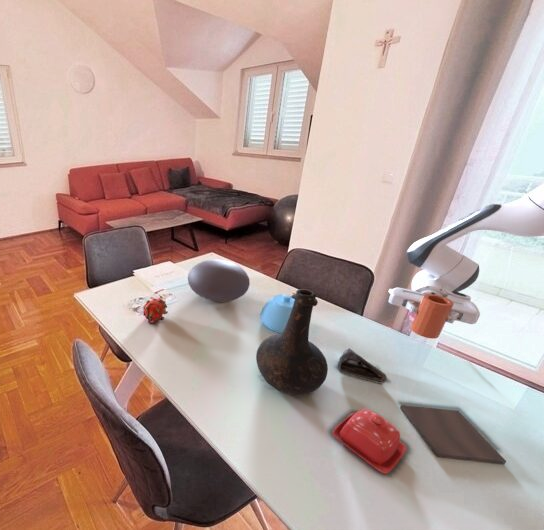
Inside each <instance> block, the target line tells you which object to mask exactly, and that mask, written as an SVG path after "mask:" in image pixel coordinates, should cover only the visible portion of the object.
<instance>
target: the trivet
mask: <svg viewBox="0 0 544 530" xmlns="http://www.w3.org/2000/svg"><path fill="white" fill-rule="evenodd" d="M399 408H400V410H401V411H402V413H403V414H404V415H405V417H406V418H407V419H408V420H409V422H410V423H411V425H412V426H413V427H414V428H415V430H416V432H418V434H419V435H420V437H421V438H422V439H423V441H424V442H425V444H427V446H428V447H429V448H430V450H431V451H432V452H433V454H434V455H435V456H436V457H437V458H444V459H445V458H446V459H453V460H464V461H472V462H480V463H490V464H497V465H505V464H506V463H507V460H506V459H505V458H504V457H503V456H502V455H501V453H499V451H497V450H496V449H495V447H494V446H493V445H492V444H490V441H488V440H487V439H486V438H485V437H484V436H483V434H482V433H480V432H479V430H478V429H477V428H476V427H474V425H473V424H472V423H471V422H470V421H469V420H468V419H467V418H466V417H465V416H464V415H463V414H462V413H461V412H460V410H458V409H457V410H456V409H448V408H438V407H437V408H436V407H425V406H416V405H406V404H401V405H400V407H399Z"/></svg>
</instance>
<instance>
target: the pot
mask: <svg viewBox="0 0 544 530" xmlns="http://www.w3.org/2000/svg"><path fill="white" fill-rule="evenodd" d="M453 305H454V303H453V302H452V301H451V300H449V299H447V298H445V297H442V296H439V295H434V294H425V295H424V296H423V298H422V300H421V303H420V305H419V308H418V309H419V310H418V312H417V314H414V318H413V320H412V322H411V326H410V330H411V331H412V333H414V334H416V335H418V336H420V337H423V338H426V339H438V338H439V337H440V335H441V334H442V331H443V329H444V326H445V324H446V323H447V322H446V320H447V318H448V316H449V314H450V311H451V309H452V307H453Z"/></svg>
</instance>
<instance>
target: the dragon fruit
mask: <svg viewBox="0 0 544 530" xmlns="http://www.w3.org/2000/svg"><path fill="white" fill-rule="evenodd" d="M167 308H168V306H167V304H166V301H165V300H164V299H162V298H161V297H158V298H155V297H153V298H152V299H151V300H150V299H149V300H146V303H145V304H144V306H143V307H142V309H143V310H142V311H143V316H144V318H145V319H146V320H147V323H149V324H150V323H156V321H157V320H158V321H163V320H164V319H165V317H164V316H163V315H167V314H168V313H169V311H167Z"/></svg>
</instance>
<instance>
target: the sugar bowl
mask: <svg viewBox="0 0 544 530" xmlns="http://www.w3.org/2000/svg"><path fill="white" fill-rule="evenodd" d="M291 296H292V295H290V294H286V293H285V294H276V295H274V296H273V297H270V299H269V300H268V301H267V302H265V303H264V305H263V307H262V309H261V310H260V314H259V316H260V320H261V321H262V323H263V324H264V326H265V327H266V328H268V329H269V330H270V331H272V332H276V333H277V334H282V332H283V331H284V329H285V326H286V324H287V322H288V319H289V316H290V314H291V311H292V307H293V304H294V301H295V299H293V298H292V297H291Z"/></svg>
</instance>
